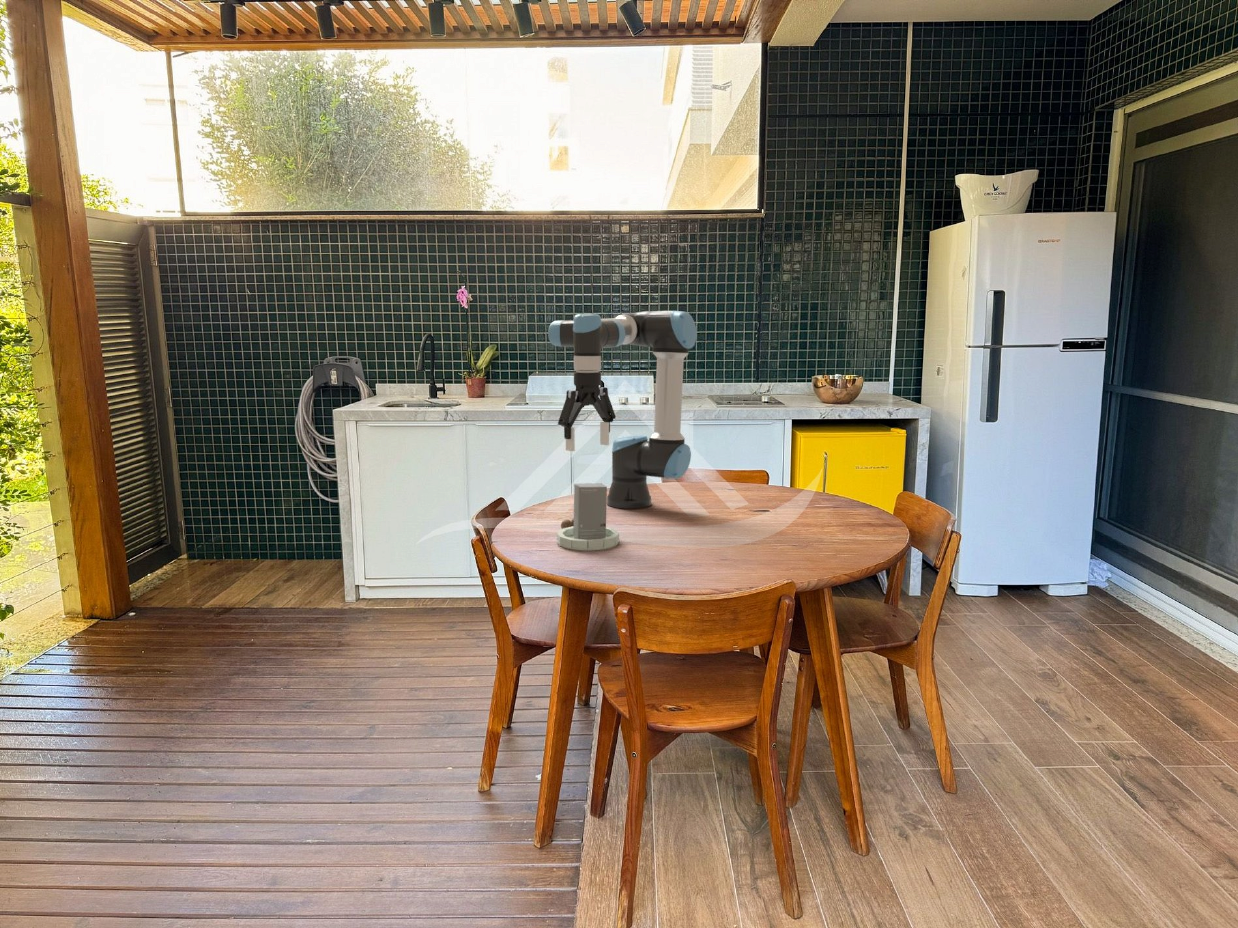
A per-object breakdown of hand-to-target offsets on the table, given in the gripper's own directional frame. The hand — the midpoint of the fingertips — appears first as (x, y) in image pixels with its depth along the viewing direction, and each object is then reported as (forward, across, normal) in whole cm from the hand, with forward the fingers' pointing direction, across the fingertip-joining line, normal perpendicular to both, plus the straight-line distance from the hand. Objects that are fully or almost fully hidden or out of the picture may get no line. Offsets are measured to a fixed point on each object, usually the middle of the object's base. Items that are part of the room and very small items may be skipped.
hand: (587, 447), depth 232 cm
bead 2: (+27, -6, -11) cm, 30 cm away
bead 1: (+27, -2, -11) cm, 29 cm away
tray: (+27, +2, +2) cm, 27 cm away
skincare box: (+26, +1, +2) cm, 26 cm away
